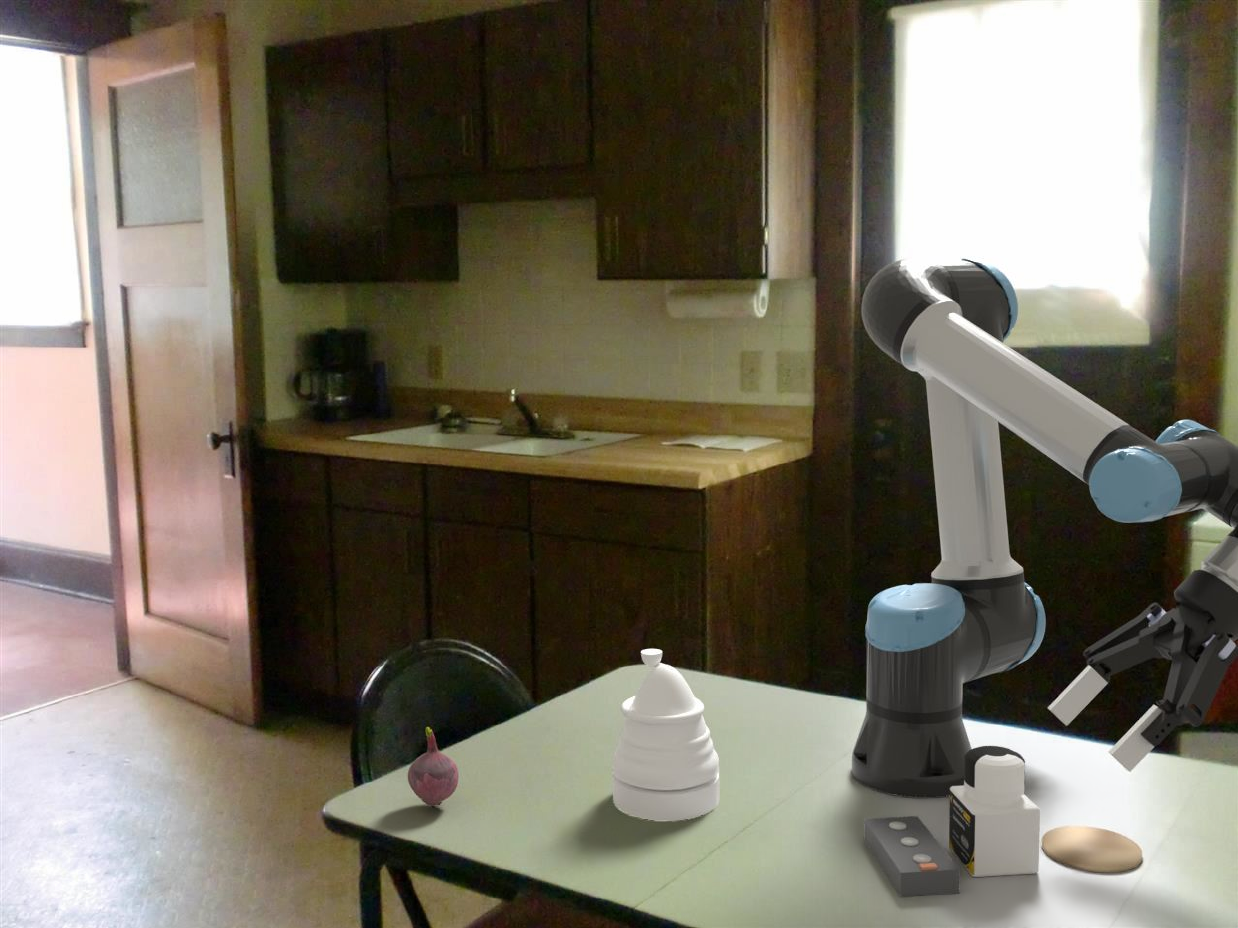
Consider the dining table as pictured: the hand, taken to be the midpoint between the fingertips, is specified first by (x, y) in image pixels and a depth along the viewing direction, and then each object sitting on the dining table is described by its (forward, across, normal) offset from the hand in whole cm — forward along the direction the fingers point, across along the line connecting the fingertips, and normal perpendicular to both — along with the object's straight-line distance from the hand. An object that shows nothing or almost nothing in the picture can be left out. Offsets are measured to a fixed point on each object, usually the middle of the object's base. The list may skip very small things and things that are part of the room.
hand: (1086, 738), depth 125 cm
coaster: (+8, +2, -10) cm, 13 cm away
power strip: (+22, +1, +4) cm, 23 cm away
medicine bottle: (+16, +1, -3) cm, 17 cm away
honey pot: (+39, +22, +20) cm, 49 cm away
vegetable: (+58, +23, +40) cm, 74 cm away
